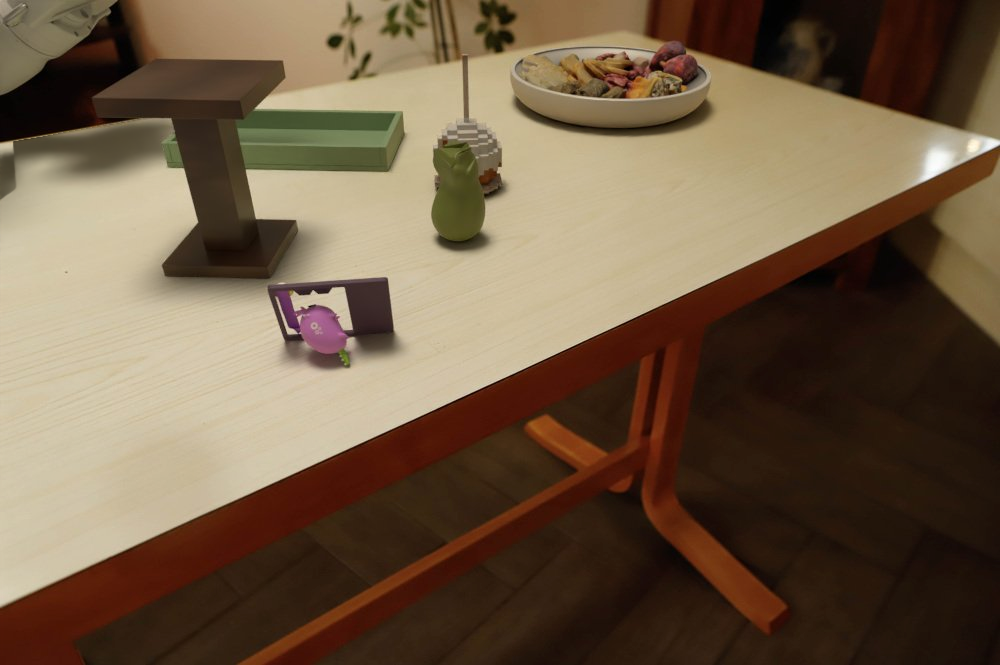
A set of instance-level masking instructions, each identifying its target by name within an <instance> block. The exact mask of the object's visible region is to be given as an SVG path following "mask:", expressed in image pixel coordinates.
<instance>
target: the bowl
mask: <svg viewBox="0 0 1000 665" xmlns="http://www.w3.org/2000/svg"><path fill="white" fill-rule="evenodd" d="M509 79H510V80H509V81H510V85H511V88H512V90H513V92H514V94H515V96H516V98H518V100H519V101H520V102H521V103H522V104H523V105H524V106H525V107H527V108H528V109H530V110H532V111H533V112H534V113H537V114H539V115H541V116H543V117H546V118H549V119H551V120H556V121H559V122H562V123H567V124H571V125H578V126H584V127H593V128H605V129H632V128H634V129H635V128H644V127H652V126H658V125H662V124H666V123H670V122H673V121H676V120H679V119H681V118H683V117H685V116H688V115H690V114H691V113H692V112H694V111H695V110H697V108H699V107H700V106H701V104H703V102H704V101H705V100H706V98H707V96H708V94H709V91H710V88H711V84H712V73H711V72H710V70H709V69H708V68H707V67H705V66H704V65H702V64H701V63H699V62H698V61H697V59H696V58H695V57H694V56H693V55H691V54H687V50H686V48H685V45H684V44H683V43H682V42H681V41H679V40H671V41H667V42H665V43H664V44H662V45H661V46H660V47H659V48H658V49H650V48H649V49H648V48H643V47H636V46H622V45H600V44H599V45H598V44H597V45H593V44H592V45H591V44H589V45H572V46H571V45H570V46H561V47H553V48H548V49H543V50H537V51H535V52H531V53H528V54H525V55H523V56H521V57H519V58H517V59H516V60H514V61H513V62H512V64H511V65H510V68H509Z"/></svg>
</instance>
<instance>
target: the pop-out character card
mask: <svg viewBox="0 0 1000 665" xmlns="http://www.w3.org/2000/svg"><path fill="white" fill-rule="evenodd" d="M335 288H344V291H345V297H346V301H347V306H348V311H349V317H350V321H351V326H352V329H344V328H343V327H342V325H341V323H340V322H339V319H340V318H341V316H340V315H338V313H337V312H336V313H335V311H334V310H333V309H332V308H330V307H328V306H325V305H322V304H317V303H316V304H310V305H307V308H306V307H304V306H300V307H299V308H300V309H299V310H295V308H294V305H293V301H292V298H291V297H292V296H293V294H294V293H296V294H297V295H298V296H311V294H312V293H313V292H315V293H316V294H317V295H326V294H327V295H328V294H330V292H331V291H332V289H335ZM267 294H268V296H269V300H270V302H271V305H272V309H273V311H274V314H275V316H276V317H275V318H276V320H277V323H278V326H279V329H280V333H281V335H282V338H283V340H284V341H293V340H303V341H304V342H305V343H306V345H308V346H309V347H310V348H311V349H313V350H314V351H316V352H318V353H322V354H327V355H331V354H335V353H337V354H338V355H339V358H341V359H340V361H342V362H344V364H343V366H349V365H350V364H351V362H350V358H349V356H348V355H347V352H346V350H345V348H346V346H347V343H348V341H347V340H348V339H350V336H360V335H361V336H362V335H372V334H373V335H374V334H386V333H387V334H388V333H393V332H395V326H394V319H393V318H394V317H393V309H392V300H391V294H390V284H389V278H388V277H387V276H381V277H380V276H379V277H366V278H352V279H335V280H322V281H321V280H320V281H307V282H293V283H286V282H278V283H277V284H269V285H267ZM277 299H278V300H277ZM278 302H279V303H278ZM280 309H281V310H280ZM281 312H282V313H281ZM282 314H283V316H282ZM300 316H301V317H300ZM298 317H300V321H299V319H298ZM283 318H284V319H285V321H284V319H283ZM285 322H286V325H287V327H286V325H285ZM287 328H288V329H292V330H294V332H296V333H292V334H289V333H288V331H287Z"/></svg>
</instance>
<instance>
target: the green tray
mask: <svg viewBox="0 0 1000 665" xmlns="http://www.w3.org/2000/svg"><path fill="white" fill-rule="evenodd" d="M235 121H236V126H237V130H238V135H239V140H240V145H241V150H242V154H243V159H244V164H245V169H252V170H253V169H256V170H301V171H303V170H305V171H306V170H307V171H308V170H311V171H354V172H355V171H357V172H358V171H359V172H360V171H361V172H388V171H389V170H390V168H391V165H392V162H393V161H394V159H395V155H396V154H397V151H398V149H399V147H400V144H401V142H402V140H403V137H404V134H405V123H404V110H357V109H356V110H355V109H354V110H353V109H352V110H346V109H297V108H296V109H295V108H293V109H292V108H291V109H290V108H289V109H288V108H287V109H286V108H255V109H254V110H253V111H252V112H251V113H250V114H249V115H248V116H247V117H246V118H245V119H244V120H235ZM161 147H162V150H163V154H164V157H165V158H164V159H165V161H166V165H167V168H184V166H183V162H182V159H181V155H180V151H179V147H178V143H177V139H176V136H175V132H174V131H173V133H172V134H170V135H169V136H168V137H167V138H166V139H165V140H163V141H162V142H161Z"/></svg>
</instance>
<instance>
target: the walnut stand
mask: <svg viewBox="0 0 1000 665" xmlns="http://www.w3.org/2000/svg"><path fill="white" fill-rule="evenodd" d="M286 78H287V77H286V72H285V65H284V60H283V59H281V60H278V59H277V60H276V59H217V58H216V59H215V58H214V59H212V58H211V59H208V58H201V59H200V58H155V59H153V60H151V61H150V62H148V63H147V64H145V65H143V66H142V67H140V68H138V69H136V70H134V71H133V72H131V73H130V74H128V75H126V76H125V77H123V78H121V79H119V80H118V81H117V82H115V83H113V84H112V85H110V86H109V87H106V88H105V89H103V90H102V91H100V92H98V93H96V94H95V95H93V96H92V97H91V101H92V104H93V108H94V110H95V114H96V117H97V118H114V119H115V118H117V119H119V118H121V119H123V118H124V119H170V121H171V124H172V127H173V128H172V129H173V133H174V132H175V136H176V139H177V143H178V147H179V151H180V155H181V159H182V162H183V166H184V167H183V170H184V173H185V178H186V181H187V186H188V189H189V194H190V196H191V201H192V204H193V208H194V212H195V216H196V220H197V223H196V224H195V225H194V226H193V227H192V228H191V230H190V232H188V234H186V236H185V237H184V238H183V239H182V241H180V243H179V244H178V245H177V246H176V248H174V249H173V251H172V252H171V253H170V254H169V256H168V257H167V258H166V259H165V261H164V262H163V263H162V264H161V268H162V271H163V275H164V276H165V277H195V278H196V277H197V278H198V277H201V278H202V277H203V278H237V279H238V278H239V279H241V278H243V279H244V278H245V279H270V278H271V276H272V275H273V273H274V271H275V270H276V268H277V267H278V265H279V263H280V261H281V260H282V258H283V256H284V255H285V253H286V251H287V249H288V248H289V246H290V244H291V242H292V241H293V239H294V237H295V236H296V234H297V232H298V231H299V228H298V222H297V219H276V218H275V219H271V218H269V219H268V218H256V213H255V208H254V203H253V198H252V193H251V189H250V184H249V179H248V174H247V168H245V164H244V159H243V154H242V150H241V145H240V140H239V135H238V130H237V126H236V121H235V120H244V119H245V118H246V117H247V116H248V115H249V114H250V113H251V112H252V111H253V110H254V109H257V107H258V106H259V105H261V103H262V102H263V101H264V100H266V98H267V97H268V96H269V95H270V94H271V93H272V92H273V91H274V90H276V88H277V87H278V86H279V85H280V84H281V83H283V81H284V80H285V79H286Z"/></svg>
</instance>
